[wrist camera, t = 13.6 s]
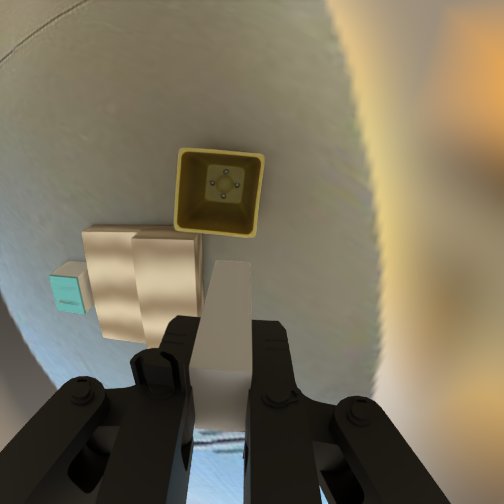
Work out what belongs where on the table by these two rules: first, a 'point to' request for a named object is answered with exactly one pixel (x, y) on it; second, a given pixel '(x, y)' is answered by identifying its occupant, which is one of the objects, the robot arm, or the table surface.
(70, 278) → the cream block
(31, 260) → the table surface
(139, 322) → the beech steps
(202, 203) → the flower pot
